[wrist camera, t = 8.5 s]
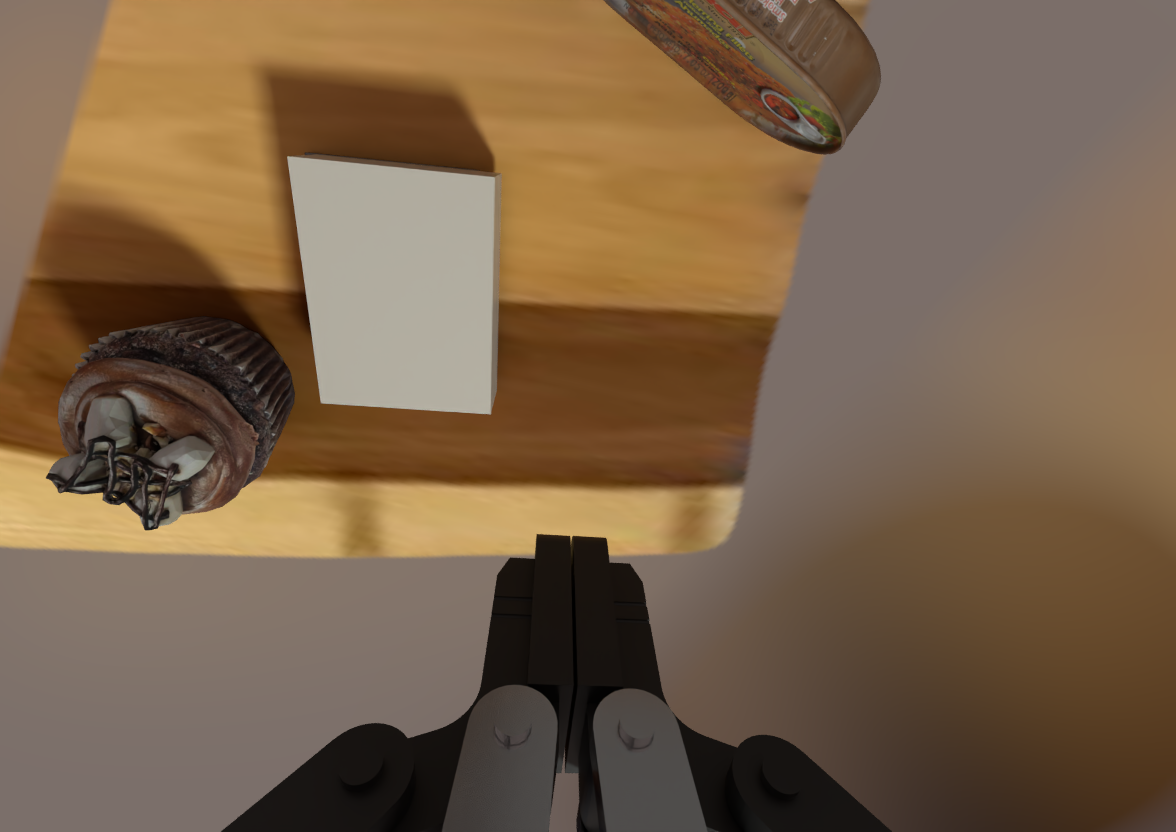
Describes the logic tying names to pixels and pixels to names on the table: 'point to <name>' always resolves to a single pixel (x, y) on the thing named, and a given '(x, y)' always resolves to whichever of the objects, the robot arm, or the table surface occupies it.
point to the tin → (770, 61)
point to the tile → (400, 281)
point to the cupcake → (172, 417)
